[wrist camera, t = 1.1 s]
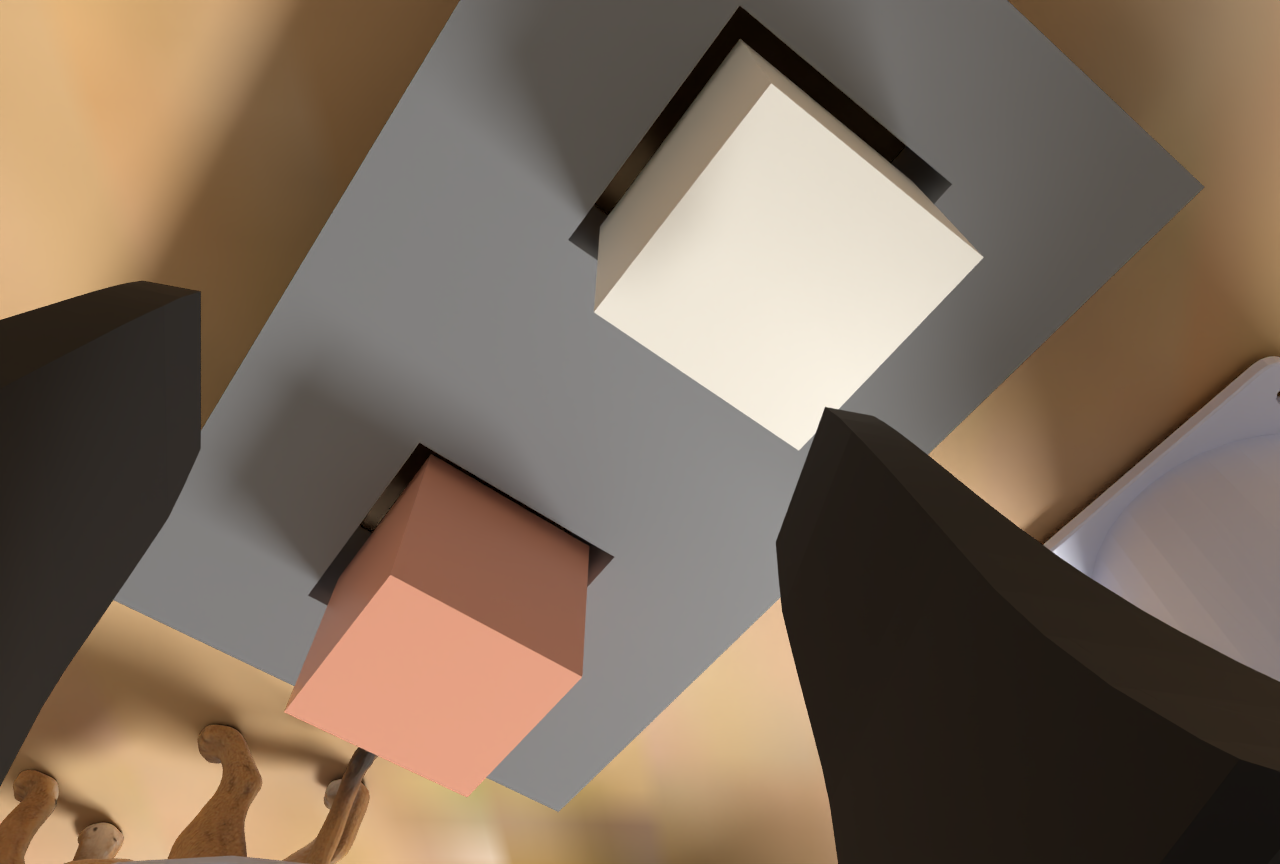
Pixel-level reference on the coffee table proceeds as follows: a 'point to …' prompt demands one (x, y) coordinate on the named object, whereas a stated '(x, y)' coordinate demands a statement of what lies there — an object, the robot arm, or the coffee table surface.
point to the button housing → (604, 355)
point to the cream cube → (773, 251)
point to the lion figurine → (215, 823)
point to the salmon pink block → (448, 631)
